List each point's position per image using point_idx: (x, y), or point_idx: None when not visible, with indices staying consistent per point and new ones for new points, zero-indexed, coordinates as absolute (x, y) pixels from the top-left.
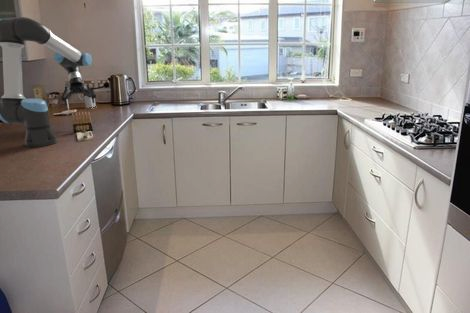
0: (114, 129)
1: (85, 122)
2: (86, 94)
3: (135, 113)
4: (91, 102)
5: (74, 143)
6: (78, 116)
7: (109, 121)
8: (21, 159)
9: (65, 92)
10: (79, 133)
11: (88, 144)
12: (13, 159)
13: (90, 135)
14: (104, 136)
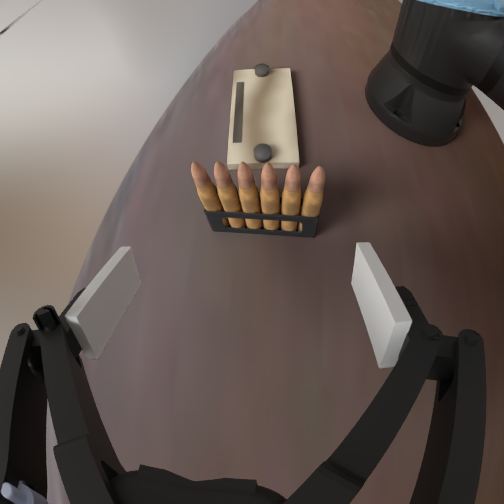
0: (120, 198)
1: (239, 198)
2: (86, 401)
3: None
4: (110, 269)
5: (300, 59)
6: (276, 182)
7: None
8: None
9: (454, 444)
10: (284, 140)
11: (258, 40)
12: None
13: (241, 89)
14: (192, 97)
